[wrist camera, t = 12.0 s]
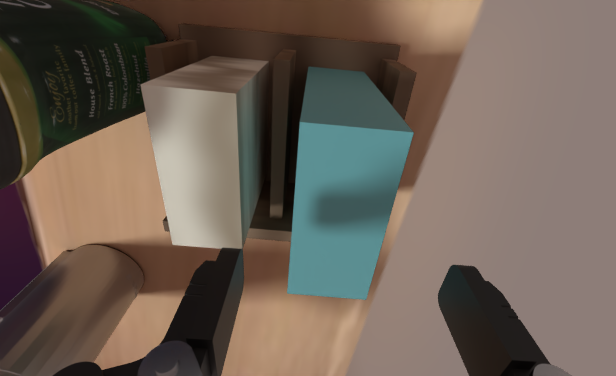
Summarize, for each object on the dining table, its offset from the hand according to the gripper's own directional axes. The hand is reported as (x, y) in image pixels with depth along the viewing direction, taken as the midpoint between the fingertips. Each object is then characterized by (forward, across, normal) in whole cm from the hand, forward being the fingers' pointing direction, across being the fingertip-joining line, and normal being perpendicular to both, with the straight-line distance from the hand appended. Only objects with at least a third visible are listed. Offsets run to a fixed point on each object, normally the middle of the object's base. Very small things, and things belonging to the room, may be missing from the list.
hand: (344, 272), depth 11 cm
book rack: (+18, +4, 0) cm, 18 cm away
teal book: (+17, 0, 0) cm, 17 cm away
